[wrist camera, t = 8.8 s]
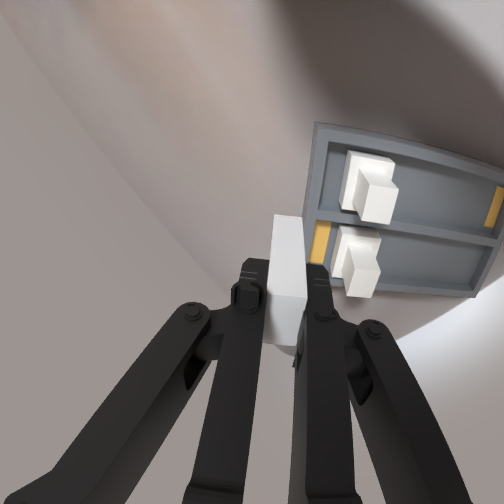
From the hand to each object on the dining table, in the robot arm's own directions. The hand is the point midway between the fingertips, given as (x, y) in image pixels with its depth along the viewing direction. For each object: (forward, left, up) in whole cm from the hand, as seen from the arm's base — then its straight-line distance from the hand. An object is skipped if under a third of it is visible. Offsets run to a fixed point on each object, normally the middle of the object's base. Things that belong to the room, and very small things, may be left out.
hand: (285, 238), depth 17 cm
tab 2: (+7, +8, -12) cm, 16 cm away
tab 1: (0, +7, -12) cm, 14 cm away
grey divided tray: (+3, +14, -14) cm, 20 cm away
